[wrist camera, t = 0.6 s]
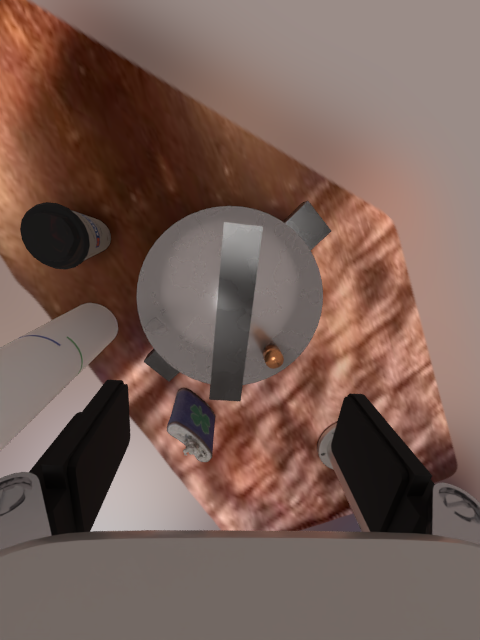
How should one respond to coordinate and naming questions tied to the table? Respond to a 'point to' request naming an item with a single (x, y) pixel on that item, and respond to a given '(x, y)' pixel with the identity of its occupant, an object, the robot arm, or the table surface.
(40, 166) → the table surface
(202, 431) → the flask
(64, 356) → the cylindrical container
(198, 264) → the lid
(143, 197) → the table surface
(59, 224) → the coffee cup
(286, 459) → the table surface
